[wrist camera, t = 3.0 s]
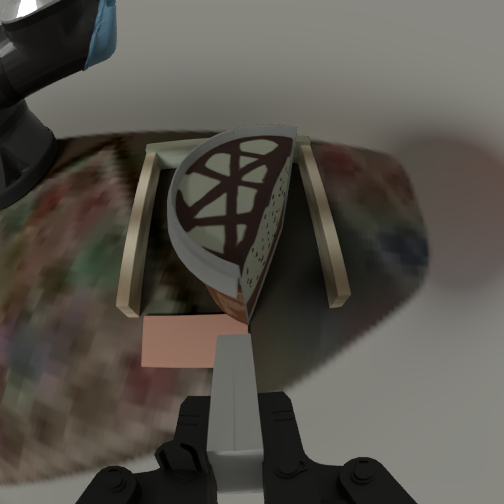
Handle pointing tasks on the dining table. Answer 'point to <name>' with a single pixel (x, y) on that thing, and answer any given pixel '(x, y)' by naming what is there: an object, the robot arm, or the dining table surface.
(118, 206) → the dining table surface
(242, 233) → the food container
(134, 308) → the beige u-shaped frame
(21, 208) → the dining table surface
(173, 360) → the mat
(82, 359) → the dining table surface
